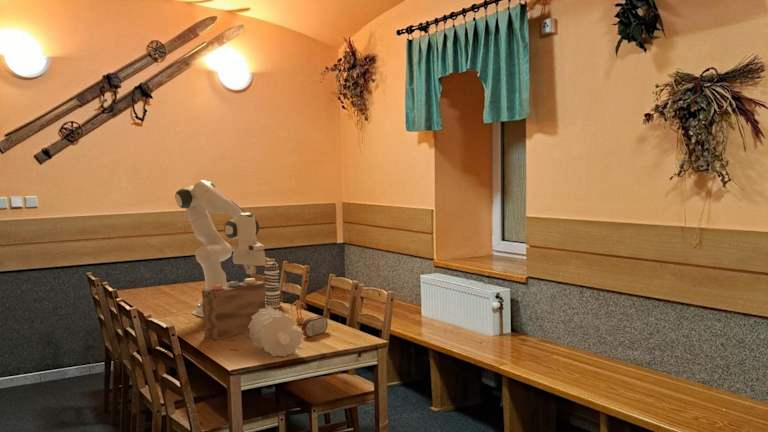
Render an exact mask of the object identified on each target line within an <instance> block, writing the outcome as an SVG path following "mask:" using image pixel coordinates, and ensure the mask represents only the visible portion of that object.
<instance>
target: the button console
mask: <svg viewBox="0 0 768 432" xmlns="http://www.w3.org/2000/svg"><path fill="white" fill-rule="evenodd" d="M264 283H265V281H256V280H255V283H254V284H250V285H249V284H245V281H244V282H239V287H235V288H230V287H229V284H228V285H226V286H223V290H221V291H212V289H208V290H205V289H202V291H201V293H202V294H201V295H202V297H201V298H203V317H202V318H203V330H204V333H203V334H204V338H208V339H214V340H222V339H226V338H229V337H230V338H231V337H233V336H236V335H239V334H244V333H247V332H250V328H248V326H249V324H250V322H251V321H252V317H251V316H253V315H255V314H256V313H258V312H259V309H267V307H266V298H265V297H266V296H265V295H266V287H265V284H264Z"/></svg>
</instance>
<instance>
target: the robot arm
mask: <svg viewBox="0 0 768 432" xmlns="http://www.w3.org/2000/svg"><path fill="white" fill-rule="evenodd" d="M174 198H175V202H176V204H177V206H178V207H179V208H180V209H185V213H186V215H187V220H188V221H189V224H190V226H191V228H192V232H193V235H195V238H196V239H197V240H199V241H200V242H202V244H203V245H202V246H200V247H198V248H197V249H196V251H195V260H196V261H197V263H199V264H200V266H201V267H202V271H203V275H204V282H205V284H204V286H205V289H204V290H208V289H212V286H213V285H223V286H227V273H226V272H225V271H224V270H223V268H222V266H221V262H223V261H226V260H227V259H229V258H230V257H231V256H232V262H233V264H234V265H243V268H244V269H245V274H247V275H253V273H254V268H255V267H257V266H259V267H260V266H264V265H265V264H266V253H265V245H264V244H262V243H260V242H259V241H257V240H258V239H257V235H258V233H259V231H260V227H261V226H260V224H259V221H258V220H257V218H255V215H254V214H253V213H251V212H246V211H244V209H242V208H241V207H240V206H239V205H238V204H236V203H235V202H234V201H233V200H232V199H231V200H230V199H229V198H227V197H226V196H224V195H223V194H222V193H221V192H220V191H218V189H217V188H216V185H215V184H214V183H213V182H212V181H207V180H203V179H202V180H199V181H197V182H195V183H194V184H192V185H190V186H186V187H184V188H180V189H179V190H177V191H176V192H175V197H174ZM209 213H214V214H223V215H228V216H231V217H232V219H230V220H227V221H226V222H225V224H224V227H223V228H224V230H223V231H224V234H225V236H226V237H227V238H228V239H230V240H231V239H232V240H235V239H238V245H237V244H236V245H234V247H233V249H232V246H231V244H230V243H228V242H226V240H224V238H223V237H222V236H221V235H220V233H219V232H218V230H217V229H216V226H215V225H214V223H213V220H212V218H211V215H210V214H209ZM191 314H192V315H193V316H194V315H195V316H198V317H201V318H204V317H203V298H202V297H201V298H200V299H199V300H198V301H197V302H196V304H195V310H193V311H191Z"/></svg>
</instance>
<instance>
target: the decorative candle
mask: <svg viewBox="0 0 768 432" xmlns="http://www.w3.org/2000/svg"><path fill="white" fill-rule="evenodd" d="M263 266H264V272H263V282H264V284H265V304H266V309H268V307H271V308H273V309H275V308H279V307H282V305H281V303H282V302H281V301H282V300H281V292H280V286H281V284H280V283H281V281H280V280H281V278H279V277H281V275H280V274H281V272H280V271H279V264H278V263H277V262H275V261H267V262H265V264H264V265H263Z"/></svg>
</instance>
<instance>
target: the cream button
mask: <svg viewBox="0 0 768 432" xmlns="http://www.w3.org/2000/svg"><path fill="white" fill-rule="evenodd" d="M255 281H256V278H255V277H252V278H251V277H249V278H245V279H244V282H245V284H249V285H250V284H254V283H255Z"/></svg>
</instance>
